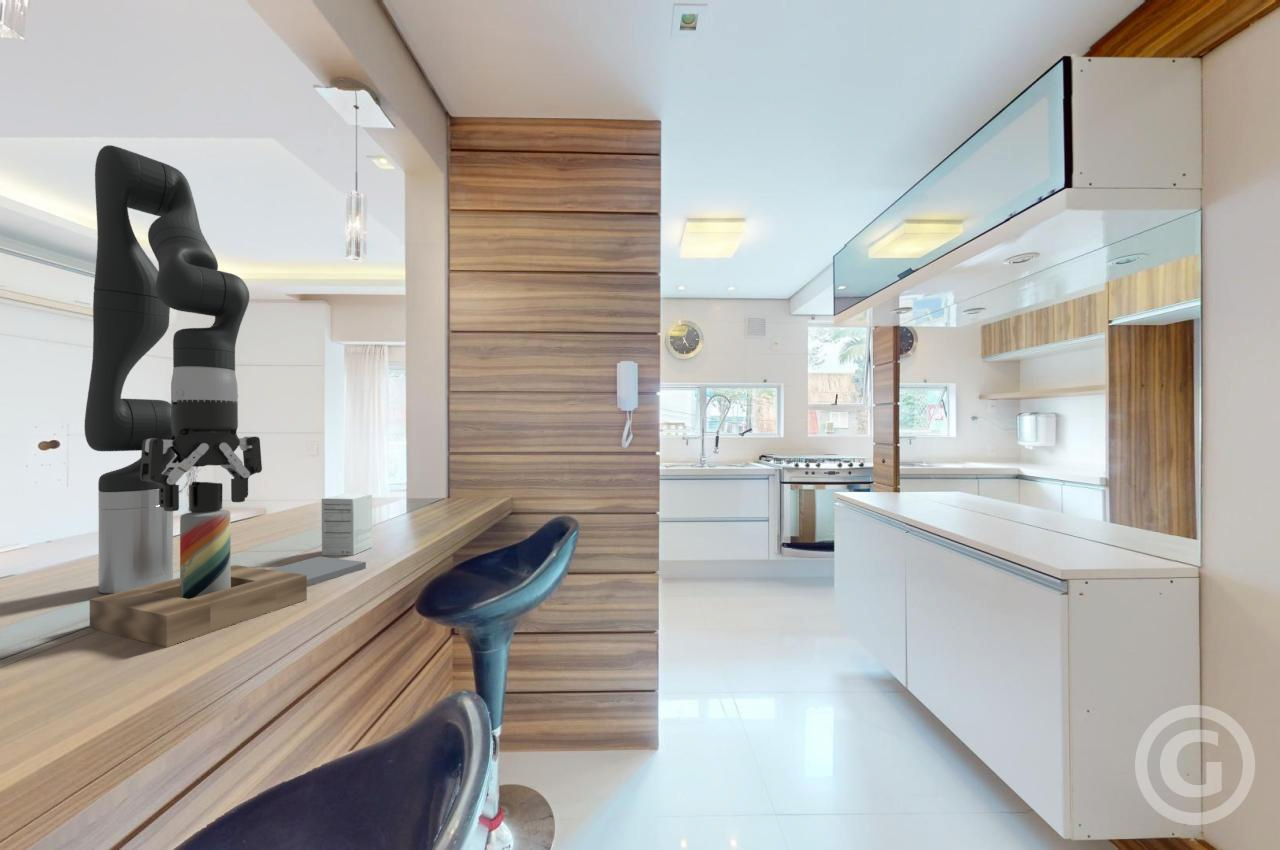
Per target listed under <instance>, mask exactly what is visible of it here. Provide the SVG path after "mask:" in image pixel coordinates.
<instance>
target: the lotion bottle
mask: <svg viewBox="0 0 1280 850" xmlns="http://www.w3.org/2000/svg"><path fill="white" fill-rule="evenodd" d="M188 511H189V512H186V513H184V514H181V515H180V518H179V519H180V520H179V521H180V522H179V552H180V553H179V578H180V598H186V599H191V598H195V597H199V596H202V595H206V594H210V593H213V592H217V591H220V590H224V589H228V588H231V566H232V565H231V562H232V561H231V559H232V557H231V555H232V554H231V553H232V551H231V549H232V548H231V547H232V545H231V544H232V543H231V542H232V541H231V540H232V539H231V535H232V534H231V533H232V532H231V530H232V529H231V524H232V523H231V511H230V510H227V509H223V483H222V482H212V481H211V482H210V481H192V482H191V484H189V485H188Z"/></svg>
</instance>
